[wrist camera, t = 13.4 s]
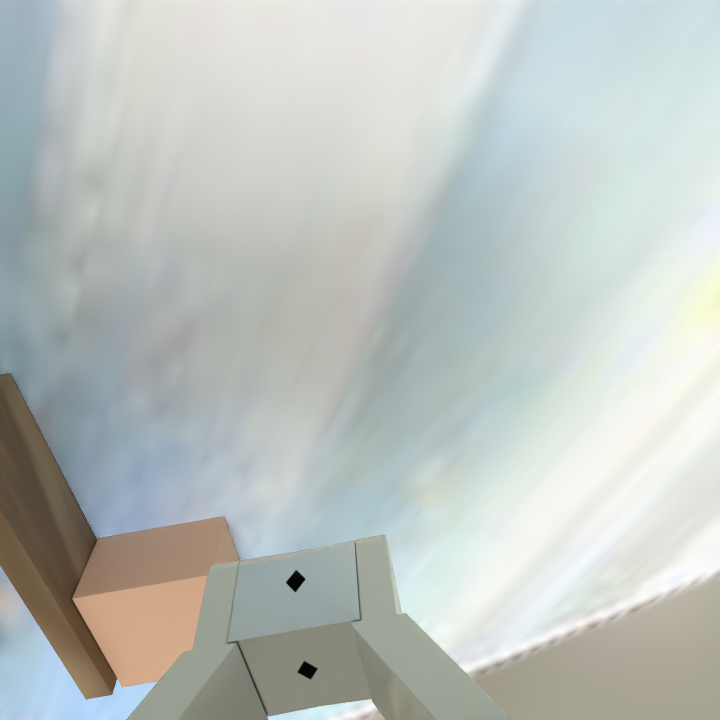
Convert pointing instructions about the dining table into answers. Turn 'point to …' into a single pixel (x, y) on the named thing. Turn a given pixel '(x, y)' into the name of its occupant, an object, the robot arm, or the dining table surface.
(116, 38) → the dining table surface
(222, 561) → the block
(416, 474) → the dining table surface
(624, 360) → the dining table surface
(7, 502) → the board
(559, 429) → the dining table surface
